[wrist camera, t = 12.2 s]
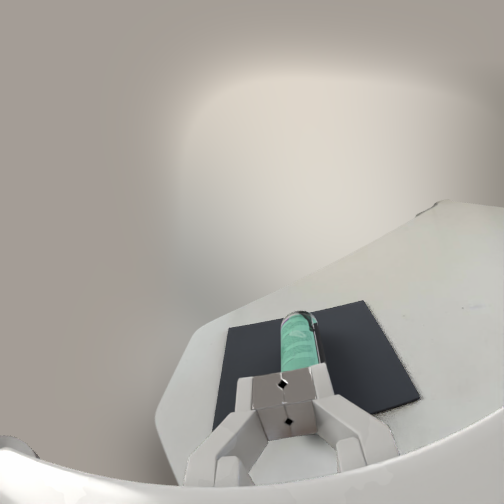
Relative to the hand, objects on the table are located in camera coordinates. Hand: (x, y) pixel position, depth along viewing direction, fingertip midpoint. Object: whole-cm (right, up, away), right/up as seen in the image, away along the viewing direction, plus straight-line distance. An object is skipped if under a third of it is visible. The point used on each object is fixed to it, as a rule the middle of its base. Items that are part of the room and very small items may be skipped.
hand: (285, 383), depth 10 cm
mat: (+6, -11, +29) cm, 32 cm away
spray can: (+4, -12, +16) cm, 20 cm away
